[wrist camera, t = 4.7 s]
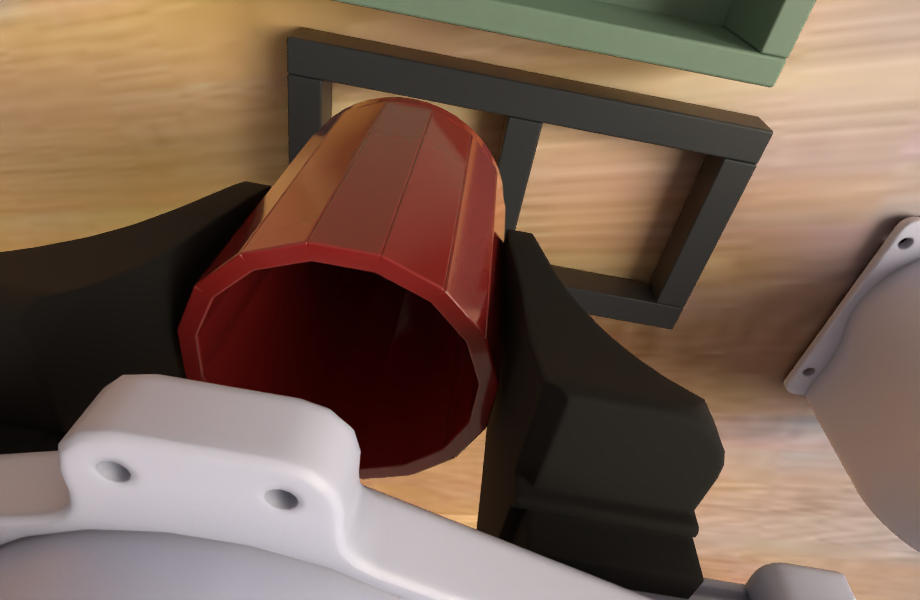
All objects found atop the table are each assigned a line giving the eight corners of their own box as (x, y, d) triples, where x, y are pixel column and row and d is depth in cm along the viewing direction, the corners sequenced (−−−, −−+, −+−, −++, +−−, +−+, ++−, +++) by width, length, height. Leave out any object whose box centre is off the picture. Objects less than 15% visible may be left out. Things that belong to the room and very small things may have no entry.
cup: (483, 296, 17) (466, 498, 12) (303, 263, 17) (198, 452, 11) (524, 119, 14) (529, 281, 8) (301, 76, 14) (154, 214, 8)
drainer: (665, 308, 25) (672, 330, 24) (300, 242, 25) (289, 260, 24) (759, 116, 20) (775, 131, 19) (299, 26, 20) (285, 36, 18)
